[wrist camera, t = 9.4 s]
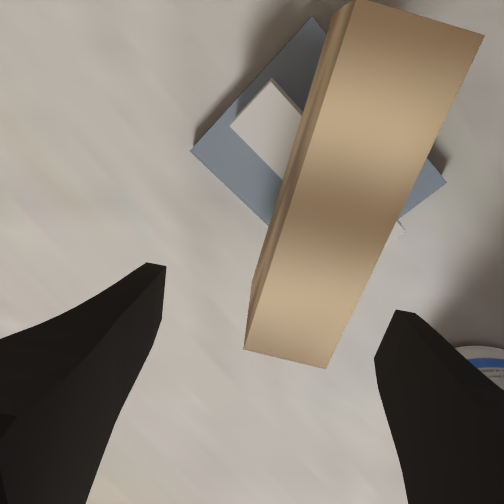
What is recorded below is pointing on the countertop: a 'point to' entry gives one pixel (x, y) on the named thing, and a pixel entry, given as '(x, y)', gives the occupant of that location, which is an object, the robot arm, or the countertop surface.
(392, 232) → the fulcrum stand
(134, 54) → the countertop surface
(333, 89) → the oak stick
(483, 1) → the countertop surface
